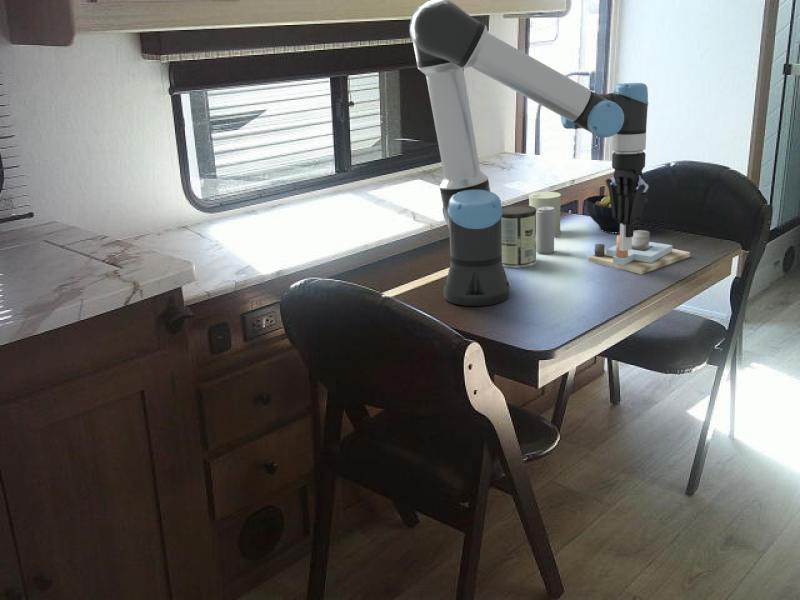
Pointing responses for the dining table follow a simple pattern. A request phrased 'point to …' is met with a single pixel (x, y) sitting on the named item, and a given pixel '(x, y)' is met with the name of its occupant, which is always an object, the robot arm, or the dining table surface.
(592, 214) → the bowl
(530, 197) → the can
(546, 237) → the beverage can
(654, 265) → the post base
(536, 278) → the dining table surface
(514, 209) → the coffee can
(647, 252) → the flange plate
